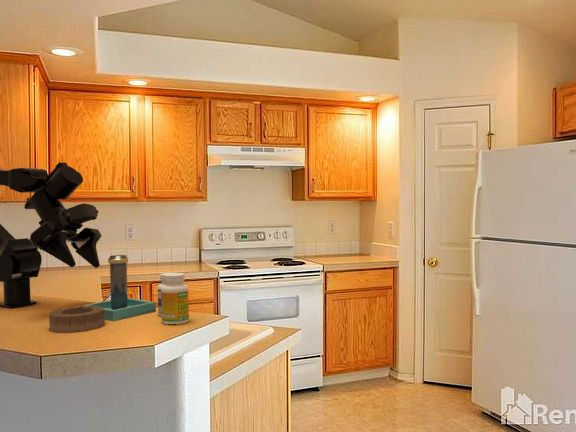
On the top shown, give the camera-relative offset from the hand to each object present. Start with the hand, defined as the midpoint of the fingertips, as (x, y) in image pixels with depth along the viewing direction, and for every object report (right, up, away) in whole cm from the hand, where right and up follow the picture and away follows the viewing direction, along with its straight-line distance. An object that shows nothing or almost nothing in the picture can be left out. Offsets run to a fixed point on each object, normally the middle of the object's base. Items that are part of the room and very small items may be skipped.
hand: (86, 266), depth 117 cm
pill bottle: (+20, -10, -5) cm, 23 cm away
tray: (+8, -10, -2) cm, 13 cm away
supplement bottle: (+22, -10, -11) cm, 27 cm away
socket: (+3, -10, -14) cm, 17 cm away
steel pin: (+8, -9, -2) cm, 13 cm away
